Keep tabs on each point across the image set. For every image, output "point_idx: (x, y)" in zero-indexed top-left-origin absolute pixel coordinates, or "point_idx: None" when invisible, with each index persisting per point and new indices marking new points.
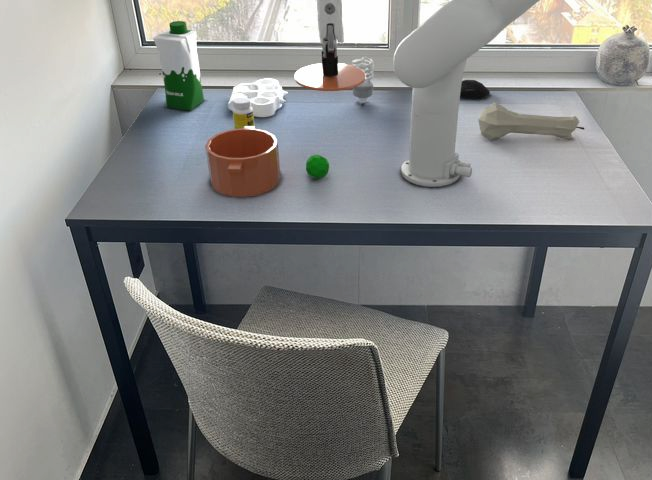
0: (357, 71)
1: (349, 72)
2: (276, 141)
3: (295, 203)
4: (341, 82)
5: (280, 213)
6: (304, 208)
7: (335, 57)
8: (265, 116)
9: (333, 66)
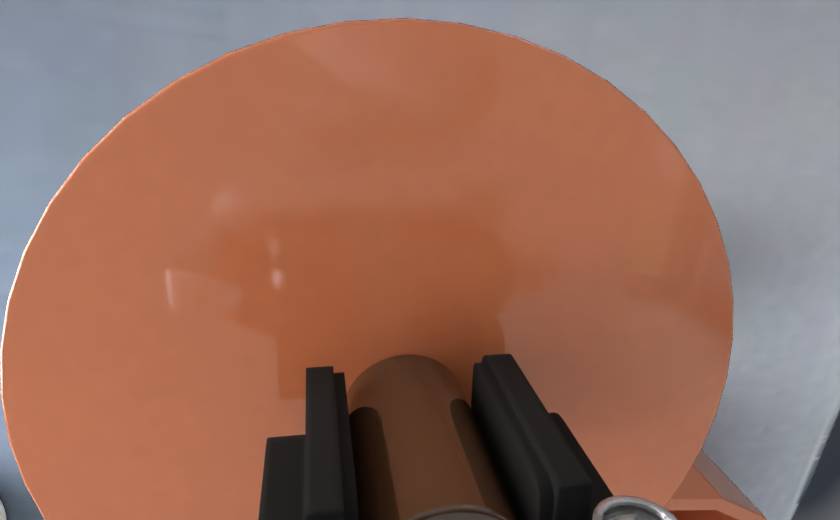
0: (315, 114)
1: (344, 213)
2: (677, 502)
3: (771, 336)
4: (617, 304)
5: (810, 376)
6: (809, 308)
7: (644, 516)
8: (1, 504)
9: (577, 455)
